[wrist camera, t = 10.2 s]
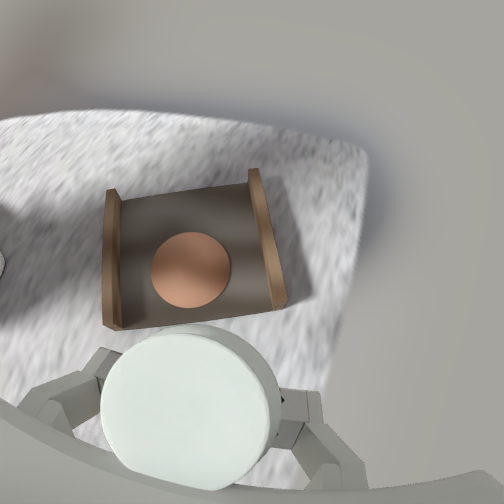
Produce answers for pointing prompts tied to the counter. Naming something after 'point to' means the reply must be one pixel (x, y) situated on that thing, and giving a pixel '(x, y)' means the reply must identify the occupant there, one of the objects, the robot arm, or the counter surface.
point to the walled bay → (189, 257)
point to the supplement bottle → (191, 407)
